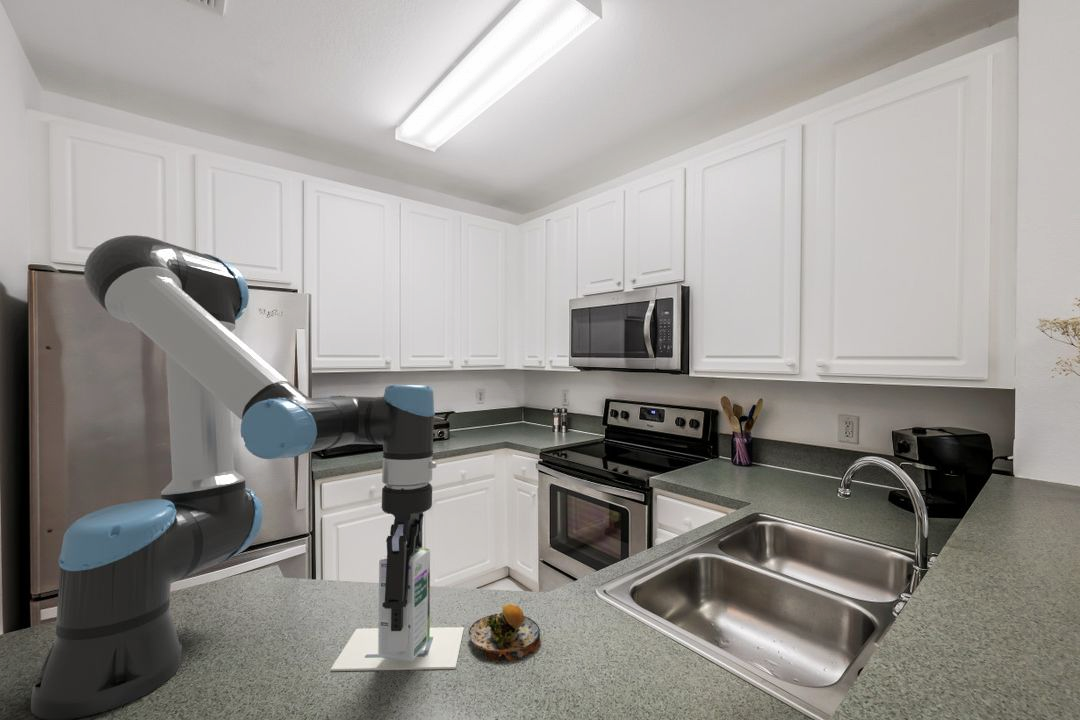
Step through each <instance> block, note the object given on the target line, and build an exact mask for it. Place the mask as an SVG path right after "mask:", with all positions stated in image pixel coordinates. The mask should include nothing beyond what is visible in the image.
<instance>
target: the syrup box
mask: <svg viewBox="0 0 1080 720" xmlns="http://www.w3.org/2000/svg"><path fill="white" fill-rule="evenodd" d="M409 549H410V548H406V550H409ZM378 566H379V568H378V571H379V572H378V628H379V630H378V656H379V657H381V658H386V659H391V660H398V661H407V662H413V661H414V659H415V658H416V656H417V655H418V654H419V653H420V652H421V651H422V649H423V648H424V647H425V646H426V644H427V643H428V642H429V640H430V628H431V624H430V623H431V622H430V621H431V620H430V617H431V616H430V614H431V611H430V610H431V603H430V601H431V600H430V599H431V597H430V596H431V550H430V549H429V548H426V547H425V548H424V547H422V548H420V547H417V548H415V553H414V554H413V555H412V556H411V559H410V560H409V584H408V595H407V603H409V623H408V649H407V652H388V621H389V609H385V608H384V607H383V603H384V602H385V586H386V566H387V555H386V556H384V557H382V558H381V559H379V564H378Z"/></svg>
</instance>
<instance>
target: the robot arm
mask: <svg viewBox="0 0 1080 720" xmlns="http://www.w3.org/2000/svg"><path fill="white" fill-rule="evenodd" d="M83 269H84V271H83V273H84V275H83V276H84V281H85V284H86V287H87V290H88V291H89V293H90V294H91V295H92V297H93V298H94V299H95V301H96V302H97V303H98V304H99V305H100V306H101V308H103V309H104V310H105V311H107V312H108V313H109V314H110V315H111V316H112V317H113V318H115V319H116V320H119V321H121V322H125V323H130V324H131V323H132V324H133V325H134V326H136V328H138V329H139V330H140V331H141V332H143V334H145V335H146V336H147V337H148V338H149V339H150V340H151V341H152V342H153V343H155V344H156V346H158V347H159V348H160V349H161V350H162V351H164V353H165V359H166V360H165V361H166V379H167V382H166V383H167V396H168V397H167V400H168V418H169V419H168V420H169V436H170V437H169V439H170V440H169V441H170V457H171V459H170V460H171V476H172V477H171V478H172V479H171V481H170V483H168V484H167V485H166V486H165V488H163V490H162V491H160V497H161V498H151V499H149V498H148V499H140V500H135V501H132V502H129V503H128V502H126V503H125V502H124V503H123V502H122V503H118V504H115V505H111V506H107V507H104V508H101V509H98V510H95V511H93V512H90V513H88V514H86V515H83V516H82V517H80V518H78V519H76V520H75V521H74V522H72V524H71V525H69V527H68V528H67V530H66V531H65V532H64V534H63V541H62V545H61V549H60V550H61V551H60V554H59V556H58V565H59V577H58V590H57V591H58V593H57V594H58V595H57V606H56V607H57V609H56V620H55V621H56V625H55V626H56V627H55V636H54V640H53V643H52V645H51V648H50V649H49V651H48V654H47V656H46V658H45V661H44V662H43V665H42V667H41V670H40V672H39V673H38V674H39V675H38V676H37V678H36V680H35V682H34V684H33V687H32V689H31V697H30V712H31V714H33V716H36V717H37V718H39V719H40V718H41V719H44V720H73V719H78V718H83V717H84V718H85V717H88V716H89V717H90V716H92V715H96V714H97V715H98V714H100V713H103V712H107V711H109V710H110V711H111V710H112V709H116V708H118V707H121V706H123V705H126V704H127V703H132V702H134V701H135V700H137V699H139V698H141V697H143V696H145V695H147V694H149V693H150V692H152V691H154V690H155V689H157V688H158V687H160V686H162V685H163V684H165V683H166V682H168V680H170V679H171V678H172V677H173V676H174V675H175V674H176V672H178V670H179V668H180V666H181V664H182V653H183V646H182V641H181V640H180V638H179V637H178V633H177V630H176V629H177V628H176V627H175V624H174V620H173V618H172V616H171V613H170V599H171V588H172V586H171V585H172V584H173V583H175V582H178V581H180V580H182V579H185V578H187V577H189V576H191V575H194V574H196V573H199V572H200V571H204V570H206V569H207V568H210V567H212V566H214V565H217V564H221V563H222V564H223V563H224V562H226V561H228V560H230V559H232V558H233V557H234V556H237V555H238V554H240V553H242V552H243V551H245V550H246V549H248V548H249V547H250V546H251V545H252V544H253V542H254V541H255V540H256V538H257V537H258V536H259V534H260V531H261V529H262V525H263V521H264V509H263V504H262V501H261V499H260V497H257V496H256V495H257V494H256V492H254V490H252V489H250V488H247V487H246V477H245V476H243V475H241V474H240V473H239V472H237V471H236V470H235V462H234V461H235V460H234V448H233V447H234V446H233V429H232V427H233V426H232V415H231V414H232V413H233V414H234V415H235V416H236V417H238V419H239V420H241V424H240V432H239V433H240V437H241V438H243V442H244V447H245V449H247V451H248V452H249V453H251V454H252V455H253V456H255V457H257V458H260V459H264V460H277V459H287V458H295V457H299V456H301V455H304V454H305V455H306V454H308V453H312V452H318V451H323V450H329V449H333V448H337V447H342V446H343V447H344V446H347V445H382V450H383V451H382V452H383V453H382V472H381V473H382V475H381V478H382V479H381V482H382V484H384V486H383V487H382V489H381V490H382V491H381V510H382V511H383V513H385V514H387V515H392V516H393V517H394V519H393V520H394V521H393V524H391V525H390V532H389V535H387V537H386V541H385V542H386V556H387V566H386V586H385V602H384V603H383V607H384V608H385V609H389V621H388V652H407V649H408V623H409V603H407V595H408V584H409V560H410V559H411V556H412V555H413V554H414V553H415V548H417V547H420V548H423V523H424V522H423V521H424V515H425V514H424V513H425V512H427V511H428V510H430V509H431V508H432V505H433V485H432V484H431V483H430V482H431V481H433V469H436V468H437V463H436V462H435V461H433V458H434V457H433V456H434V451H433V449H434V430H435V429H434V426H435V425H434V424H435V416H436V412H435V403H434V401H435V400H434V398H435V397H434V391H433V389H432V387H431V386H429V385H428V384H427V385H426V384H424V385H423V384H412V385H411V384H388V385H386V387H385V389H384V394H383V396H377V397H374V396H353V395H349V396H346V395H330V396H322V397H309V396H307V395H306V394H304V393H303V392H302V391H301V390H300V389H298V388H297V387H296V386H294V385H293V383H291V382H290V381H288V380H287V379H286V378H285V377H284V376H283V375H281V373H280V372H278V370H276V369H275V368H274V367H273V366H271V365H270V364H269V363H268V362H267V361H265V360H264V359H263V358H262V357H261V356H260V355H258V354H257V353H256V352H255V351H254V350H253V349H252V348H250V347H249V346H248V345H247V344H246V343H245V342H243V341H242V340H241V339H240V338H239V337H238V336H236V335H235V334H234V333H233V331H234V330H235V329H236V320H238V319H240V318H241V317H242V316H243V314H244V313H245V312H244V309H246V308H247V307H248V306H249V301H250V299H249V297H250V293H249V292H250V291H249V287H248V284H247V281H246V279H245V277H244V275H243V274H242V273H241V271H240V270H239V269H238V268H236V267H235V266H234V265H233V264H231V263H229V262H227V261H224V260H222V259H221V258H218V257H216V256H214V255H212V254H207V253H201V252H198V251H195V250H191V249H188V248H185V247H182V246H179V245H176V244H172V243H169V242H165V241H163V240H161V239H156V238H154V237H151V236H145V235H144V236H143V235H136V234H135V235H131V234H130V235H123V236H122V235H121V236H117V237H116V236H115V237H114V238H110V239H108V240H106V241H104V242H102V243H100V244H99V245H97V246H96V247H95V248H94V249H93V250H92V251H91V252H90V253H89V255H88V256H87V259H86V261H85V264H84V268H83ZM406 548H410V549H409V550H406Z"/></svg>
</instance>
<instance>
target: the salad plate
mask: <svg viewBox="0 0 1080 720" xmlns="http://www.w3.org/2000/svg"><path fill="white" fill-rule="evenodd" d="M522 598H523V596H521V597H520V600H519V602H518V604H520V602H521V601H522ZM501 609H502V610H501V611H502V612H499V613H495V614H490V615H488V616H484V617H482V618H480V619H478V620H476V621H474V622H473V624H472V625H471V626H470V628H469V630H468V635H469V638H470V641H471V643H472V644H473V645H474V647H475V648H477V649H480V650H482V651H483V652H484V656H485V660H486V661H487V660H489V661H491V662H495V661H498V662H500V660H499V659H500V657H502V655H504V656H505V658H506V659H507V660H508V661H511V662H515V661H517V659H518V660H521V659H522V658H523V656H527V655H528V653H535V651H537V649H538V647H539V646H540V645H541V644H540V643H541V633H540V632H541V628H540V626H539V625H538V623H537V622H536V621H534V620H533V619H531V617H528V616H526V615H525V613H524V612H523V610H522V609H521V607H520V606H519V605H517V604H514V603H509V602H508V603H505V604H503V605H502V608H501Z"/></svg>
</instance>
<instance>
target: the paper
mask: <svg viewBox="0 0 1080 720" xmlns="http://www.w3.org/2000/svg"><path fill="white" fill-rule="evenodd" d="M378 630H379V627H376V628H374V627H372V628H368V627H367V628H364V627H362V628H356V629H355V631H354V632H353V634H352V635H351V637H350V638H349V639H348V641H347V642H346V645H344V648H343V649H342V651H341V652H340V654H339V655H338V656H337V658H336V660H335V662H333V665H332V666H331V667H330V672H342V671H343V672H344V671H345V672H348V671H349V672H353V671H354V672H355V671H358V672H359V671H360V672H361V671H404V670H405V671H407V670H408V671H409V670H410V671H412V670H415V671H416V670H417V671H419V670H456V668H457V665H458V664H457V663H458V659H459V656H460V655H459V654H460V649H461V645H462V641H463V635H464V630H465V627H464V626H463V627H462V626H461V627H459V626H456V627H446V626H445V627H430V640H429V642H428V643H427V644H426V646H425V647H424V648H423V649H422V651H421V652H420V653H419V654H418V655H417V656H416V658H415V659H414V661H413V662H407V661H398V660H391V659H386V658H381V657H379V656H378Z"/></svg>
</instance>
